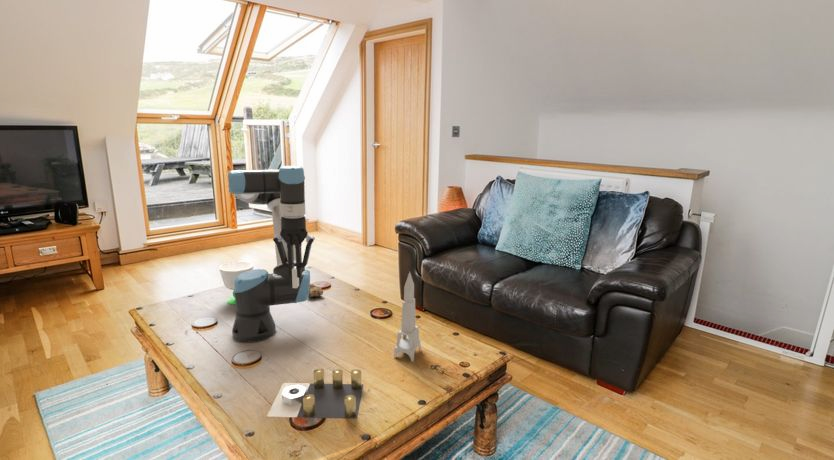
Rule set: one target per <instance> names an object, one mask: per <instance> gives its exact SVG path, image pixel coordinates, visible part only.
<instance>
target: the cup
mask: <svg viewBox="0 0 834 460" xmlns="http://www.w3.org/2000/svg"><path fill="white" fill-rule="evenodd" d="M218 270H219V272H220V275H221V278H222V282H223V285H224V287H225V288H226V289H228V290H232V296H233V297H232V298H231V297H230V298H229V299H228V300H227V303H228V305H230V306H231V305H232V306H236V304H235V292H234V281H235V278H236V277H237V276H238V275H240V274H242V273H244V272H247V271H250V270H254V264H253V263H252V262H249V261H241V260H240V261H232V262H225V263H223V264H221V265H220V266H219V268H218Z"/></svg>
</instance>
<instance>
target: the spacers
mask: <svg viewBox="0 0 834 460" xmlns="http://www.w3.org/2000/svg"><path fill="white" fill-rule="evenodd" d="M331 373H332V374H331V375H332V376H331V377H332V378H331V379H332V384H333V389H335V390H339V389H341V388H343V384H344V378H343V377H344V372H343V370H342V369H341V368H335V369H333V370H332V372H331ZM313 383H314V388H315V389H322V388H324V384H325V370H324V368H315V369H314V370H313ZM350 384H351V388H352V389H353V390H359V389H361V384H362V370H360V369H358V368H357V369H352V370H351V371H350ZM344 404H345V417H346V418H345V419H353V417H355V416H356V397H355V396H354V395H348V396H346V397H345V398H344ZM303 412H304V416H305V417H312V416H314V415H315V396H314V395H312V394H307V395H305V396H304V397H303Z"/></svg>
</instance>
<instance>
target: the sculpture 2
mask: <svg viewBox="0 0 834 460" xmlns="http://www.w3.org/2000/svg"><path fill="white" fill-rule="evenodd" d="M408 272H409V273H408V274H407V277H406V278H407V279H406V281H405V284H404V286H403V301H402V305H401V306H402V308H401V309H402V310H401V324H400V325H401V326H400V330H399V331H398V332H397V336H396V337H397V339H396V345H395V346H394V351H393V352H394V354H393V359H394V358H395V359H396V358H397V356H398V355H399V354H400V353H404V354H407V355H408V357H409V358H410V362H412V363H413V362H414V361H415V352H416V349H417V348H418V350H419V352H422V350H421V349H422V347H421V339H420V333H419V325H416V298H415V283H414V281H413V276H412V274H411V271H408Z"/></svg>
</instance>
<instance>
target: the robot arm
mask: <svg viewBox="0 0 834 460" xmlns="http://www.w3.org/2000/svg"><path fill="white" fill-rule="evenodd" d="M304 170H305V169H304V167H302V166H299V165H283V166H280V167H279V169H251V170H250V169H247V170H246V169H237V170H230V171H228V173H227V180H228V181H227V182H228V191H229V193H230V194H231V195H232V194H233V195H235V197H236V199H238V200H239V201H242V202H244V203H247V204H252V205H258V206H259V205H266V206H267V209H268V210H269V211H270V212H271V215H272V216H271V217H272V225H273V226H272V227H273V236H274V237H273V239H272V241H273V242H274V248H275V259H276V266H274V268H273V269H272V271H273V273H269V272H268V270H266V269H260V268H258V269H257V268H256V269H253V270H250V271H247V272H244V273H242V274H240V275H238V276H237V277H236V278H235V281H234V290H233V291H234V292H235V304H236V305H235V319H234V322H233V325H232V329H231V330H232V331H231V332H232V333H231V334H232V335H231V336H232V338H233V339H234V340H235V341H237V342H242V343H257V342H261V341H265V340H267V339H270V338H271V337H273V336H274V335H275V334H276V331H277V329H276V326H277V325H276V323H275V320H274V318H273V315H272V313H271V309H270V306H279V305H287V304H288V305H289V304H297V303H301V302H306V301H307V300H308V299H309V297H310V296H309V290H310V284H311V272H310V270H308V269H306V266H307V265H308V264H309V263H308V261H309V258H310V253H311V248H312V245H313V243H314V241H315V239H316V238H315V236H311V235H309V233H308V230H307V223H306V222H307V221H306V220H307V219H306V218H307V217H306V216H305V215H306V199H305V197H306V196H305V194H306V192H305V181H306V177H305V171H304ZM305 239H306V240H305ZM304 241H305V242H306V245H305V249H304V254H303V258H302V244H303V242H304Z"/></svg>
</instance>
